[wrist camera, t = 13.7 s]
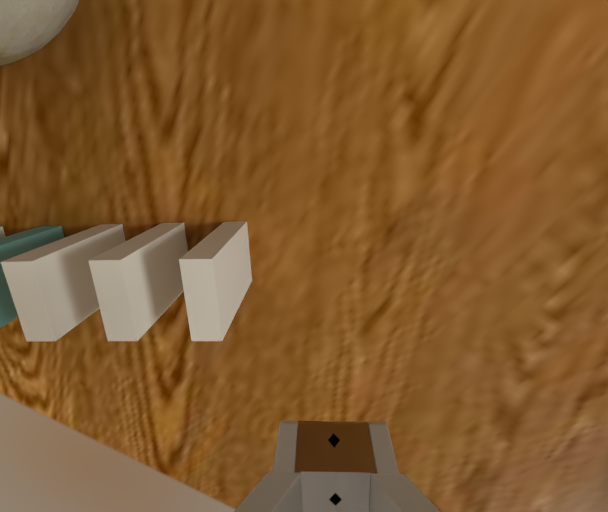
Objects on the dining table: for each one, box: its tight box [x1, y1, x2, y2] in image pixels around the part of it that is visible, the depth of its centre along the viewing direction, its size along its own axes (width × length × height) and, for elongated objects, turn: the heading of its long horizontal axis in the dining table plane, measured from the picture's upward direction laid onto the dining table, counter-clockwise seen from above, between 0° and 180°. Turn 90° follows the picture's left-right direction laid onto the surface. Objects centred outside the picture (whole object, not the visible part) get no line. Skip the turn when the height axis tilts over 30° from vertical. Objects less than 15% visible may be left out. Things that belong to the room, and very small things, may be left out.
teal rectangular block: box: [0, 226, 65, 328], centre depth 24 cm, size 5×2×9 cm, turn 2°
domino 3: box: [179, 221, 252, 341], centre depth 23 cm, size 5×2×9 cm, turn 2°
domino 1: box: [1, 224, 126, 341], centre depth 24 cm, size 5×2×9 cm, turn 2°
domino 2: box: [88, 223, 188, 341], centre depth 24 cm, size 5×2×9 cm, turn 2°
